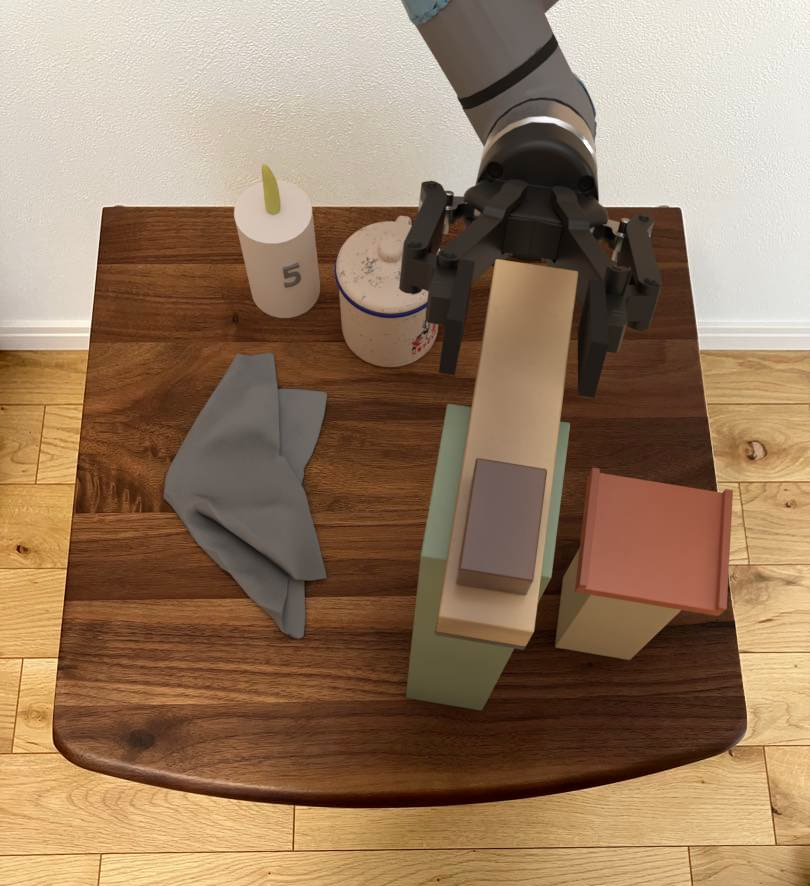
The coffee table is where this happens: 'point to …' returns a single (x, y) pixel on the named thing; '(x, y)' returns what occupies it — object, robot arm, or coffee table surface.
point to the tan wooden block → (509, 458)
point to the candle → (278, 246)
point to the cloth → (253, 486)
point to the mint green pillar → (436, 657)
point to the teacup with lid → (381, 298)
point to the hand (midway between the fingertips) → (521, 358)
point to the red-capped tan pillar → (643, 563)
